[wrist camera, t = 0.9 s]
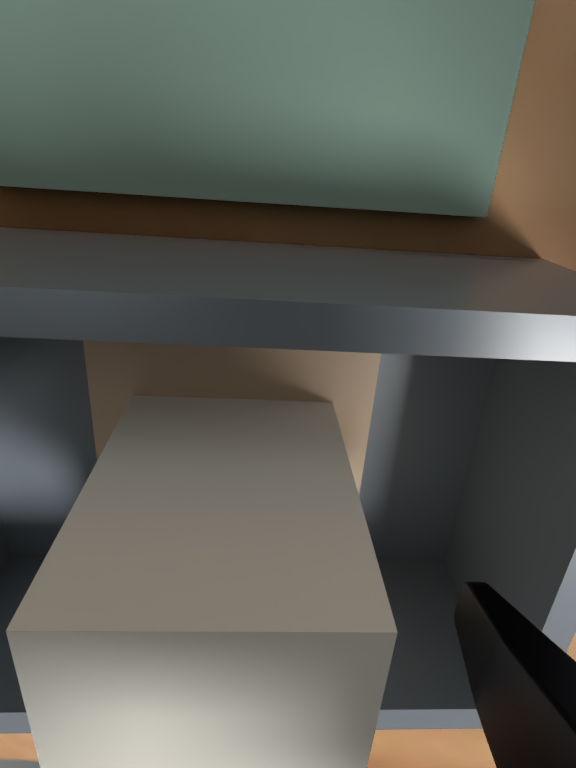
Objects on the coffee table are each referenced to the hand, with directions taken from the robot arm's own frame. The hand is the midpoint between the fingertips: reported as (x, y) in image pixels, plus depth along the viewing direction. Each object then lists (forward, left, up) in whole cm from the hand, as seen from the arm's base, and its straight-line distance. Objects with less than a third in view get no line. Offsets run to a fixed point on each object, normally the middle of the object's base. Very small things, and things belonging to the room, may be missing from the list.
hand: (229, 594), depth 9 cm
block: (0, 0, -3) cm, 3 cm away
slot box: (0, 0, -6) cm, 6 cm away
